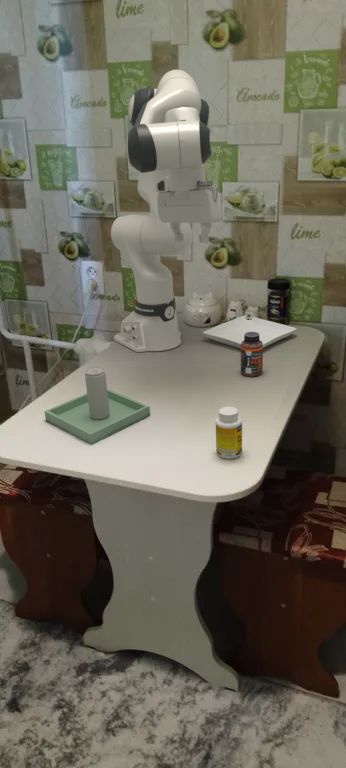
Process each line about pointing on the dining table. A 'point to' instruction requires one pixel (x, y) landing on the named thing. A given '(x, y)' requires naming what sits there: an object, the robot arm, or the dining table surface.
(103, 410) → the beverage can
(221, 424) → the supplement bottle
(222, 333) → the salad plate
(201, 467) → the dining table surface
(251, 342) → the supplement bottle
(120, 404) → the green tray
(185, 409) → the dining table surface
